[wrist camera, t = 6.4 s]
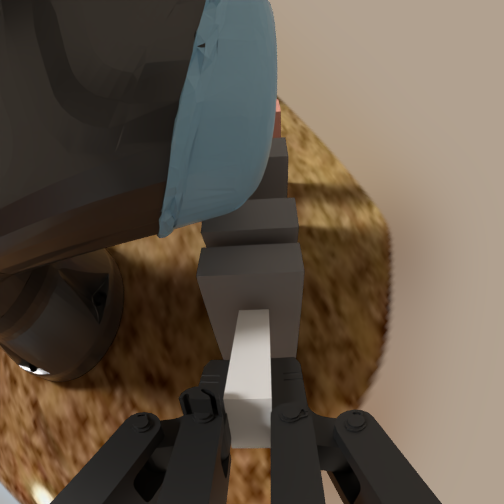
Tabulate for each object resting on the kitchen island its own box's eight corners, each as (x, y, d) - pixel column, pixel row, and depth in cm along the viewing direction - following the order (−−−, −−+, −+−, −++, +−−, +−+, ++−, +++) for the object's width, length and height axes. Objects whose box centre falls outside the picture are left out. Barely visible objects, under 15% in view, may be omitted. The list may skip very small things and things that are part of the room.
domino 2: (290, 300, 23) (298, 227, 15) (228, 303, 24) (201, 232, 15) (288, 277, 24) (294, 197, 16) (228, 280, 25) (203, 203, 16)
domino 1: (285, 242, 26) (288, 155, 18) (229, 245, 26) (208, 161, 18) (283, 224, 27) (285, 137, 19) (229, 227, 27) (211, 142, 19)
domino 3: (294, 365, 20) (304, 271, 13) (226, 368, 20) (196, 276, 13) (292, 342, 21) (299, 242, 15) (227, 345, 22) (201, 247, 15)
